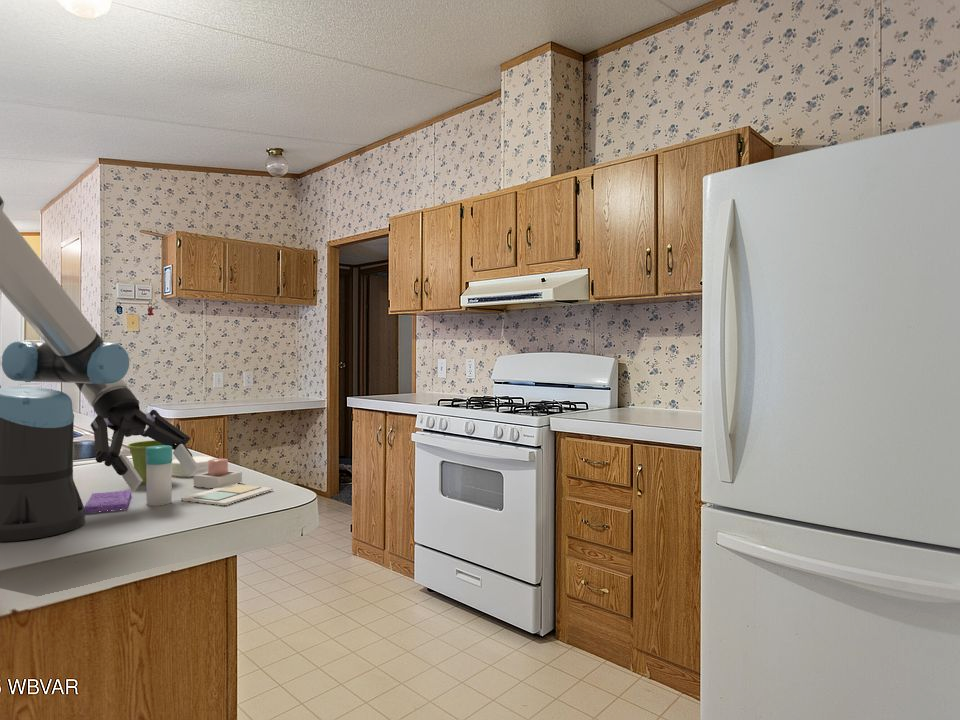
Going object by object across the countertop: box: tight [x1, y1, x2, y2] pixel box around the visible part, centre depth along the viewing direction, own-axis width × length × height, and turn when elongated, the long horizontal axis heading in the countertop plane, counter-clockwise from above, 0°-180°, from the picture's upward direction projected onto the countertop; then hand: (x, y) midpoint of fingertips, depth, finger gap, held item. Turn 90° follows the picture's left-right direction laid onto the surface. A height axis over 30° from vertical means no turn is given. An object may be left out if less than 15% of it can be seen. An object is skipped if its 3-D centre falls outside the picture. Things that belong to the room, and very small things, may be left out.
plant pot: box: [127, 439, 163, 485], centre depth 142 cm, size 9×9×9 cm
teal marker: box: [145, 445, 173, 507], centre depth 122 cm, size 5×5×11 cm
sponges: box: [84, 489, 133, 514], centre depth 121 cm, size 7×13×2 cm, turn 26°
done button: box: [208, 458, 229, 477], centre depth 139 cm, size 4×4×4 cm
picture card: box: [180, 483, 274, 506], centre depth 129 cm, size 14×11×1 cm
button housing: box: [193, 470, 243, 489], centre depth 139 cm, size 7×7×2 cm
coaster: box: [172, 455, 215, 478], centre depth 152 cm, size 10×10×4 cm
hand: (167, 478), depth 122 cm, fingers open, 13 cm apart
